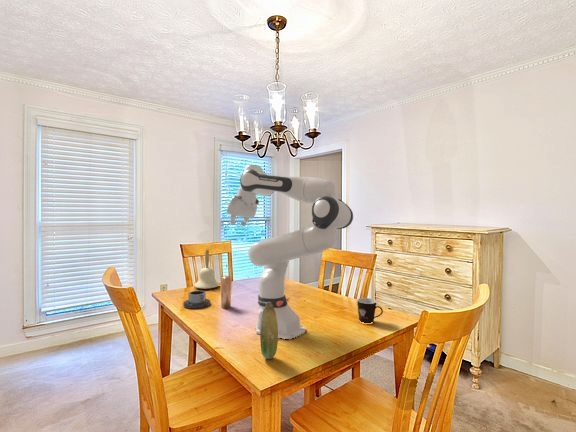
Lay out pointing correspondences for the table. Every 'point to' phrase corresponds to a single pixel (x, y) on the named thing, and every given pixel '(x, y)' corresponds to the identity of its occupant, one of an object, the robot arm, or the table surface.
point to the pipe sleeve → (196, 300)
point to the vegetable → (269, 331)
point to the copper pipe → (226, 292)
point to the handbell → (206, 275)
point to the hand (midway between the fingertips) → (237, 225)
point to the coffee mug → (367, 309)
